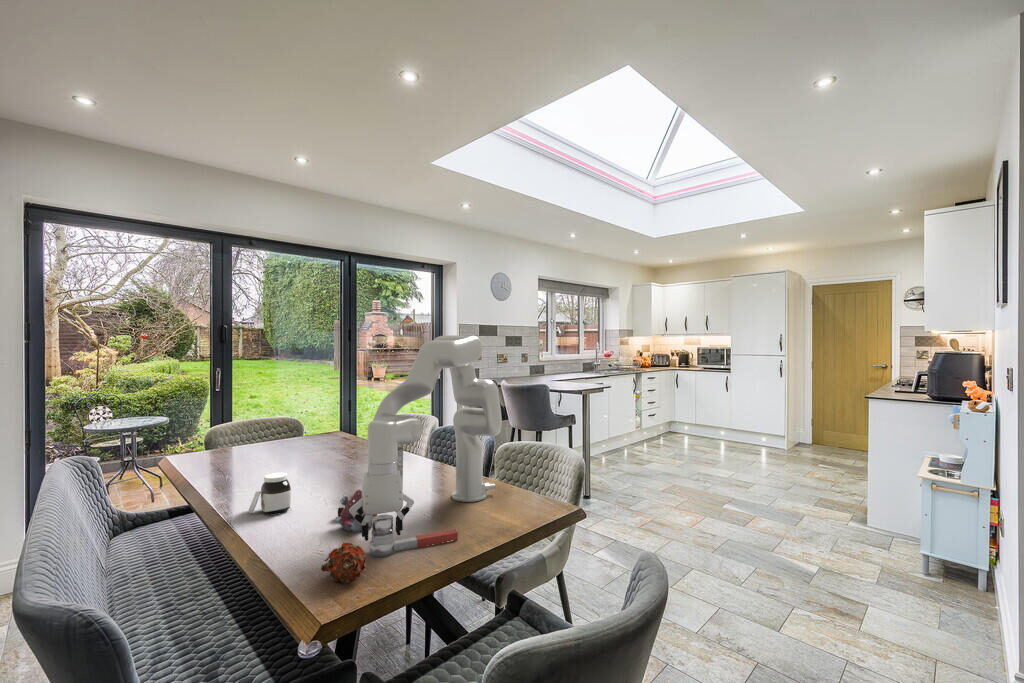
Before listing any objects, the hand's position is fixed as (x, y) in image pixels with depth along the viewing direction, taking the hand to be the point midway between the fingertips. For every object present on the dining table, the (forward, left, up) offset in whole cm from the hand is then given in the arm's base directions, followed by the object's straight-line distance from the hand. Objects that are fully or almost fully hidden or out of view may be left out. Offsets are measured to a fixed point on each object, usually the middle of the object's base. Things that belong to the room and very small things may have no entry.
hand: (382, 535), depth 117 cm
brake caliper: (+4, -20, -5) cm, 21 cm away
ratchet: (-9, 0, -4) cm, 10 cm away
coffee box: (-10, -51, -4) cm, 52 cm away
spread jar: (+29, -45, -5) cm, 54 cm away
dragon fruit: (+10, +10, -5) cm, 15 cm away
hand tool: (0, -32, -5) cm, 33 cm away
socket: (0, 0, -1) cm, 1 cm away
